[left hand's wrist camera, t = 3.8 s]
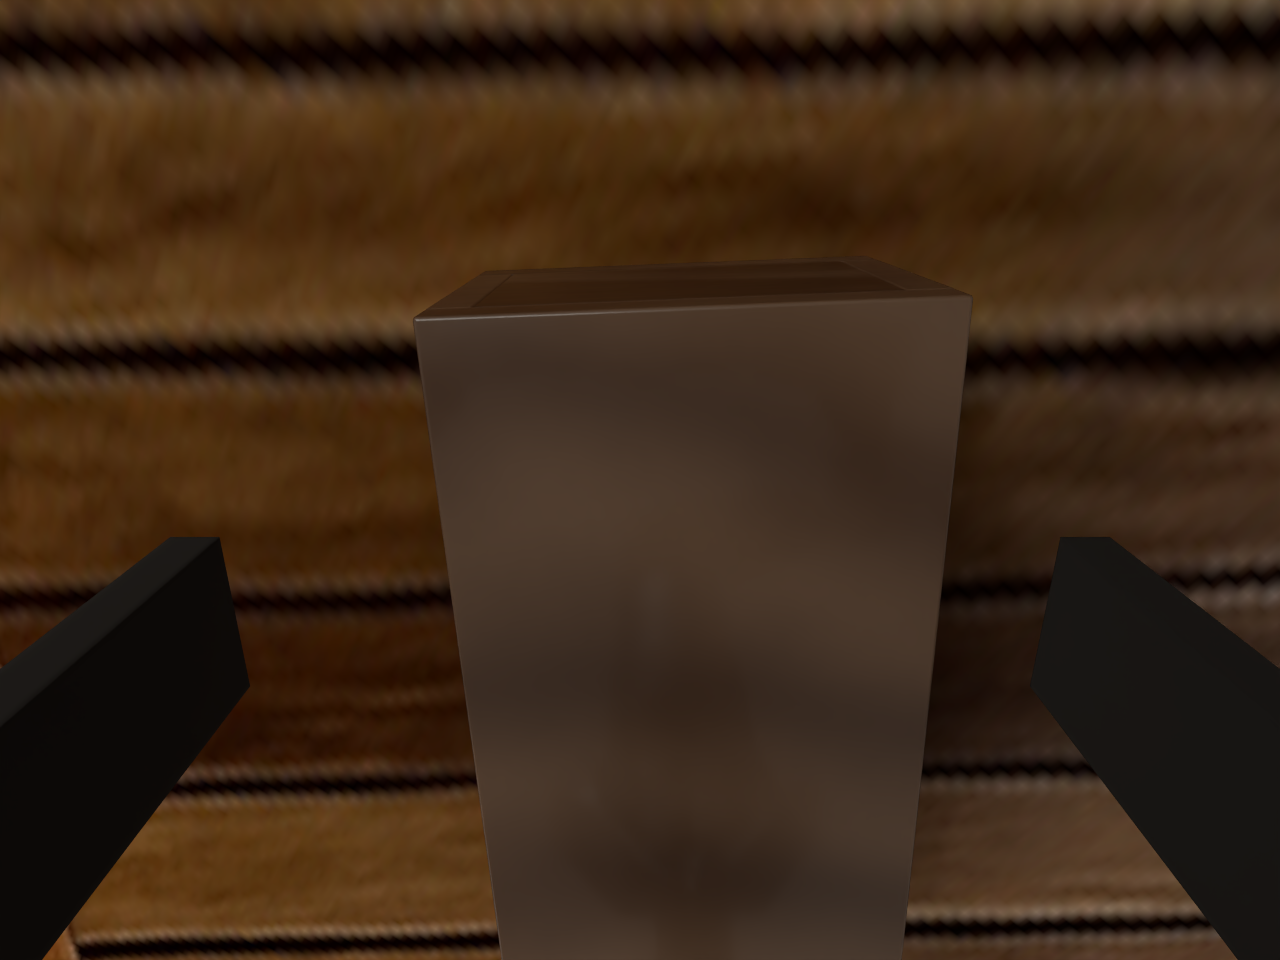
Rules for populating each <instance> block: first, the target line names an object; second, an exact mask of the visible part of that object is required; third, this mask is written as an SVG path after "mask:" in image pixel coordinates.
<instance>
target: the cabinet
mask: <svg viewBox="0 0 1280 960" xmlns="http://www.w3.org/2000/svg"><path fill="white" fill-rule="evenodd" d="M972 302H973V298H972V296H971V295H969V294H966V293H964V292H961V291H958V290H955V289H954V288H951V287H948V286H946V285H943V284H940V283H938V282H935V281H932V280H929V279H927V278H924V277H921V276H919V275H916V274H913V273H911V272H908V271H905V270H902V269H900V268H897V267H894V266H892V265H889V264H886V263H884V262H881V261H878V260H875V259H872V258H870V257H867V256H853V257H828V258H803V259H778V260H753V261H728V262H703V263H678V264H653V265H628V266H603V267H578V268H552V269H527V270H502V271H485V272H483V273H482V274H480V275H479V276H477V277H476V278H474V279H473V280H471V281H469V282H468V283H466V284H465V285H463V286H462V287H460V288H459V289H457V290H455V291H454V292H452V293H451V294H449V295H448V296H446V297H445V298H443V299H442V300H440V301H438V302H437V303H435V304H434V305H432V306H431V307H429V308H428V309H426V310H425V311H423V312H422V313H420V314H419V315H417V316H416V317H414V319H413V325H414V332H415V339H416V346H417V353H418V361H419V368H420V375H421V382H422V389H423V397H424V404H425V411H426V418H427V425H428V433H429V440H430V447H431V454H432V461H433V468H434V476H435V483H436V490H437V497H438V504H439V512H440V519H441V526H442V533H443V540H444V548H445V555H446V562H447V569H448V576H449V584H450V591H451V598H452V605H453V612H454V620H455V627H456V634H457V641H458V648H459V655H460V663H461V670H462V677H463V684H464V691H465V699H466V706H467V713H468V720H469V727H470V735H471V742H472V749H473V756H474V763H475V771H476V778H477V785H478V792H479V799H480V807H481V814H482V821H483V828H484V835H485V843H486V850H487V857H488V864H489V871H490V878H491V886H492V893H493V900H494V907H495V914H496V922H497V929H498V936H499V943H500V950H501V958H502V960H902V951H903V942H904V933H905V923H906V914H907V905H908V896H909V886H910V877H911V868H912V859H913V849H914V840H915V831H916V821H917V812H918V803H919V794H920V784H921V775H922V766H923V757H924V747H925V738H926V729H927V720H928V710H929V701H930V692H931V682H932V673H933V664H934V655H935V645H936V636H937V627H938V618H939V608H940V599H941V590H942V581H943V571H944V562H945V553H946V543H947V534H948V525H949V516H950V506H951V497H952V488H953V479H954V469H955V460H956V451H957V442H958V432H959V423H960V414H961V404H962V395H963V386H964V377H965V367H966V358H967V349H968V340H969V330H970V321H971V312H972Z"/></svg>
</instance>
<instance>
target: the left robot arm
mask: <svg viewBox="0 0 1280 960" xmlns="http://www.w3.org/2000/svg"><path fill="white" fill-rule="evenodd" d="M249 687H250V684H249V679H248V674H247V669H246V664H245V660H244V655H243V650H242V645H241V640H240V635H239V630H238V625H237V621H236V616H235V611H234V606H233V601H232V596H231V591H230V586H229V582H228V577H227V572H226V567H225V562H224V557H223V552H222V548H221V543H220V538H219V537H170V538H169V539H167V540H166V541H165V542H163V543H162V544H161V545H160V546H158V547H157V548H156V549H154V550H153V551H152V552H151V553H149V554H148V555H147V556H145V557H144V558H143V559H142V560H140V561H139V562H138V563H136V564H135V565H134V566H132V567H131V568H130V569H129V570H127V571H126V572H125V573H123V574H122V575H121V576H120V577H118V578H117V579H116V580H114V581H113V582H112V583H111V584H109V585H108V586H107V587H105V588H104V589H103V590H102V591H100V592H99V593H98V594H96V595H95V596H94V597H93V598H91V599H90V600H89V601H87V602H86V603H85V604H84V605H82V606H81V607H80V608H78V609H77V610H76V611H74V612H73V613H72V614H71V615H69V616H68V617H67V618H65V619H64V620H63V621H62V622H60V623H59V624H58V625H56V626H55V627H54V628H53V629H51V630H50V631H49V632H47V633H46V634H45V635H44V636H42V637H41V638H40V639H38V640H37V641H36V642H35V643H33V644H32V645H31V646H29V647H28V648H27V649H25V650H24V651H23V652H22V653H20V654H19V655H18V656H16V657H15V658H14V659H13V660H11V661H10V662H9V663H7V664H6V665H5V666H4V667H2V668H1V669H0V960H42V959H43V958H44V956H45V955H46V954H47V953H48V951H49V950H50V949H51V947H52V946H53V945H54V943H55V942H56V941H57V939H58V938H59V937H60V935H61V934H62V933H63V931H64V930H65V929H66V928H67V926H68V925H69V924H70V922H71V921H72V920H73V918H74V917H75V916H76V914H77V913H78V912H79V910H80V909H81V908H82V906H83V905H84V904H85V903H86V901H87V900H88V899H89V897H90V896H91V895H92V893H93V892H94V891H95V889H96V888H97V887H98V885H99V884H100V883H101V881H102V880H103V879H104V878H105V876H106V875H107V874H108V872H109V871H110V870H111V868H112V867H113V866H114V864H115V863H116V862H117V860H118V859H119V858H120V856H121V855H122V854H123V853H124V851H125V850H126V849H127V847H128V846H129V845H130V843H131V842H132V841H133V839H134V838H135V837H136V835H137V834H138V833H139V831H140V830H141V829H142V828H143V826H144V825H145V824H146V822H147V821H148V820H149V818H150V817H151V816H152V814H153V813H154V812H155V810H156V809H157V808H158V806H159V805H160V804H161V803H162V801H163V800H164V799H165V797H166V796H167V795H168V793H169V792H170V791H171V789H172V788H173V787H174V785H175V784H176V783H177V781H178V780H179V779H180V778H181V776H182V775H183V774H184V772H185V771H186V770H187V768H188V767H189V766H190V764H191V763H192V762H193V760H194V759H195V758H196V756H197V755H198V754H199V753H200V751H201V750H202V749H203V747H204V746H205V745H206V743H207V742H208V741H209V739H210V738H211V737H212V735H213V734H214V733H215V731H216V730H217V729H218V728H219V726H220V725H221V724H222V722H223V721H224V720H225V718H226V717H227V716H228V714H229V713H230V712H231V710H232V709H233V708H234V706H235V705H236V704H237V703H238V701H239V700H240V699H241V697H242V696H243V695H244V693H245V692H246V691H247V689H248V688H249ZM1030 687H1031V688H1032V689H1033V691H1034V692H1035V693H1036V695H1037V696H1038V697H1039V699H1040V700H1041V701H1042V703H1043V704H1044V705H1045V706H1046V708H1047V709H1048V710H1049V712H1050V713H1051V714H1052V716H1053V717H1054V718H1055V720H1056V721H1057V722H1058V724H1059V725H1060V726H1061V728H1062V729H1063V730H1064V731H1065V733H1066V734H1067V735H1068V737H1069V738H1070V739H1071V741H1072V742H1073V743H1074V745H1075V746H1076V747H1077V749H1078V750H1079V751H1080V753H1081V754H1082V755H1083V756H1084V758H1085V759H1086V760H1087V762H1088V763H1089V764H1090V766H1091V767H1092V768H1093V770H1094V771H1095V772H1096V774H1097V775H1098V776H1099V778H1100V779H1101V780H1102V781H1103V783H1104V784H1105V785H1106V787H1107V788H1108V789H1109V791H1110V792H1111V793H1112V795H1113V796H1114V797H1115V799H1116V800H1117V801H1118V803H1119V804H1120V805H1121V806H1122V808H1123V809H1124V810H1125V812H1126V813H1127V814H1128V816H1129V817H1130V818H1131V820H1132V821H1133V822H1134V824H1135V825H1136V826H1137V828H1138V829H1139V830H1140V831H1141V833H1142V834H1143V835H1144V837H1145V838H1146V839H1147V841H1148V842H1149V843H1150V845H1151V846H1152V847H1153V849H1154V850H1155V851H1156V853H1157V854H1158V855H1159V856H1160V858H1161V859H1162V860H1163V862H1164V863H1165V864H1166V866H1167V867H1168V868H1169V870H1170V871H1171V872H1172V874H1173V875H1174V876H1175V878H1176V879H1177V880H1178V881H1179V883H1180V884H1181V885H1182V887H1183V888H1184V889H1185V891H1186V892H1187V893H1188V895H1189V896H1190V897H1191V899H1192V900H1193V901H1194V903H1195V904H1196V905H1197V906H1198V908H1199V909H1200V910H1201V912H1202V913H1203V914H1204V916H1205V917H1206V918H1207V920H1208V921H1209V922H1210V924H1211V925H1212V926H1213V928H1214V929H1215V930H1216V931H1217V933H1218V934H1219V935H1220V937H1221V938H1222V939H1223V941H1224V942H1225V943H1226V945H1227V946H1228V947H1229V949H1230V950H1231V951H1232V953H1233V954H1234V955H1235V956H1236V958H1237V959H1238V960H1280V669H1279V668H1278V667H1276V666H1275V665H1274V664H1273V663H1271V662H1270V661H1269V660H1267V659H1266V658H1265V657H1264V656H1262V655H1261V654H1260V653H1258V652H1257V651H1256V650H1255V649H1253V648H1252V647H1251V646H1249V645H1248V644H1247V643H1245V642H1244V641H1243V640H1242V639H1240V638H1239V637H1238V636H1236V635H1235V634H1234V633H1233V632H1231V631H1230V630H1229V629H1227V628H1226V627H1225V626H1224V625H1222V624H1221V623H1220V622H1218V621H1217V620H1216V619H1215V618H1213V617H1212V616H1211V615H1209V614H1208V613H1207V612H1206V611H1204V610H1203V609H1202V608H1200V607H1199V606H1198V605H1196V604H1195V603H1194V602H1193V601H1191V600H1190V599H1189V598H1187V597H1186V596H1185V595H1184V594H1182V593H1181V592H1180V591H1178V590H1177V589H1176V588H1175V587H1173V586H1172V585H1171V584H1169V583H1168V582H1167V581H1166V580H1164V579H1163V578H1162V577H1160V576H1159V575H1158V574H1157V573H1155V572H1154V571H1153V570H1151V569H1150V568H1149V567H1148V566H1146V565H1145V564H1144V563H1142V562H1141V561H1140V560H1138V559H1137V558H1136V557H1135V556H1133V555H1132V554H1131V553H1129V552H1128V551H1127V550H1126V549H1124V548H1123V547H1122V546H1120V545H1119V544H1118V543H1117V542H1115V541H1114V540H1113V539H1111V538H1110V537H1061V538H1060V543H1059V548H1058V552H1057V557H1056V562H1055V567H1054V572H1053V577H1052V582H1051V586H1050V591H1049V596H1048V601H1047V606H1046V611H1045V616H1044V621H1043V625H1042V630H1041V635H1040V640H1039V645H1038V650H1037V655H1036V660H1035V664H1034V669H1033V674H1032V679H1031V684H1030Z"/></svg>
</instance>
